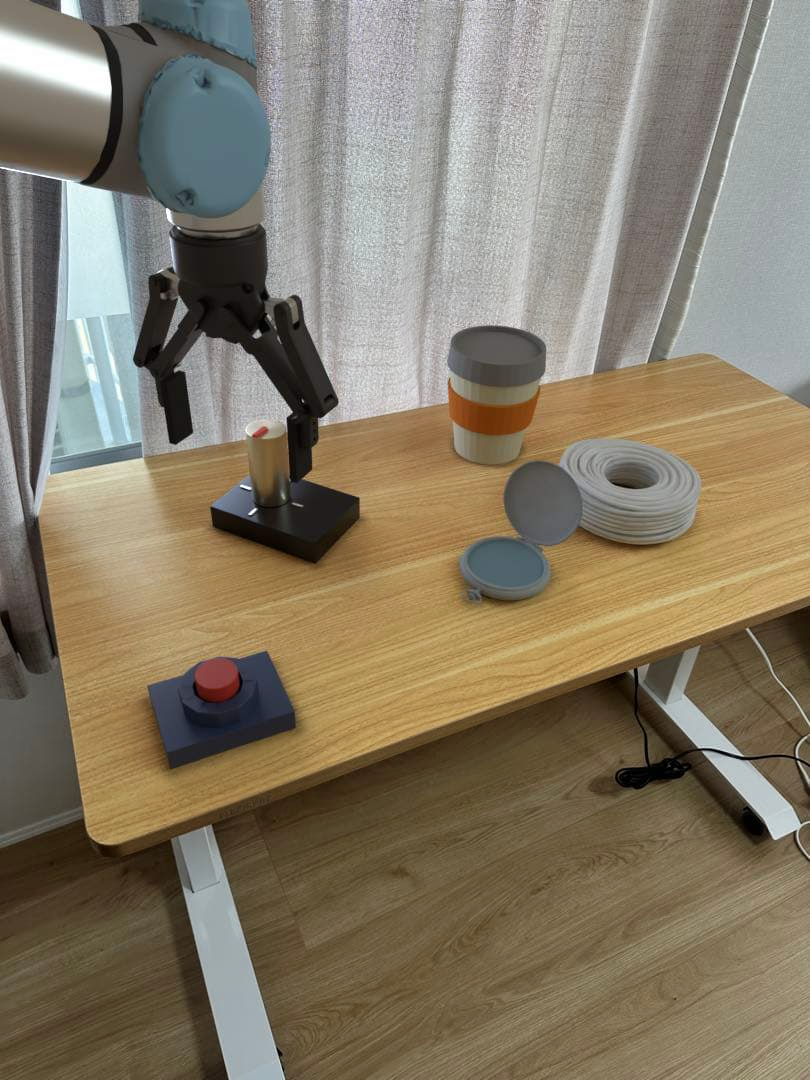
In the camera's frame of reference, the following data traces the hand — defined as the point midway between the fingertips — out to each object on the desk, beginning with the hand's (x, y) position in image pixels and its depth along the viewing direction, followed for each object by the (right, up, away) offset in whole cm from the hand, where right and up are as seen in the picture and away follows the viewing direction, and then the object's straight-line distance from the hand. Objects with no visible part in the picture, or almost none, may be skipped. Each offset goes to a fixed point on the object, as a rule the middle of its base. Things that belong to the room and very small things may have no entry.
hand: (239, 456), depth 76 cm
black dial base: (+2, -6, +19) cm, 20 cm away
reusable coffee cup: (+27, +5, +34) cm, 44 cm away
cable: (+42, -4, +24) cm, 49 cm away
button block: (-1, -23, -4) cm, 24 cm away
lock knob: (0, -3, +17) cm, 18 cm away
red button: (0, -21, -7) cm, 22 cm away
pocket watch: (+27, -12, +13) cm, 32 cm away
